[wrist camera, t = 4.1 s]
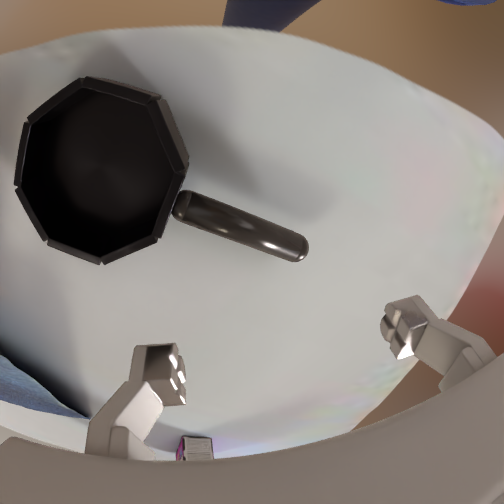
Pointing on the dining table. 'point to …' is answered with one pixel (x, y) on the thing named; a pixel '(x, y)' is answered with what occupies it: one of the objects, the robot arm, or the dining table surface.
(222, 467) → the robot arm
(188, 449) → the candy bar box
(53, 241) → the pan
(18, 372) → the blue piece
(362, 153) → the dining table surface
